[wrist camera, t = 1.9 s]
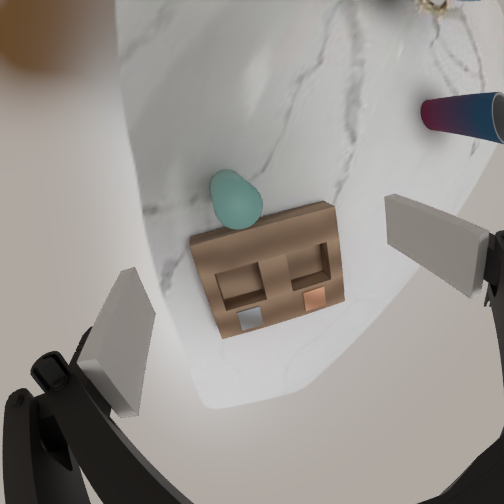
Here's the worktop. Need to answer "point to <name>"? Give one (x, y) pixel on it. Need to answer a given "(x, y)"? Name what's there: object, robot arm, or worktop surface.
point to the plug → (235, 200)
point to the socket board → (271, 268)
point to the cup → (467, 115)
